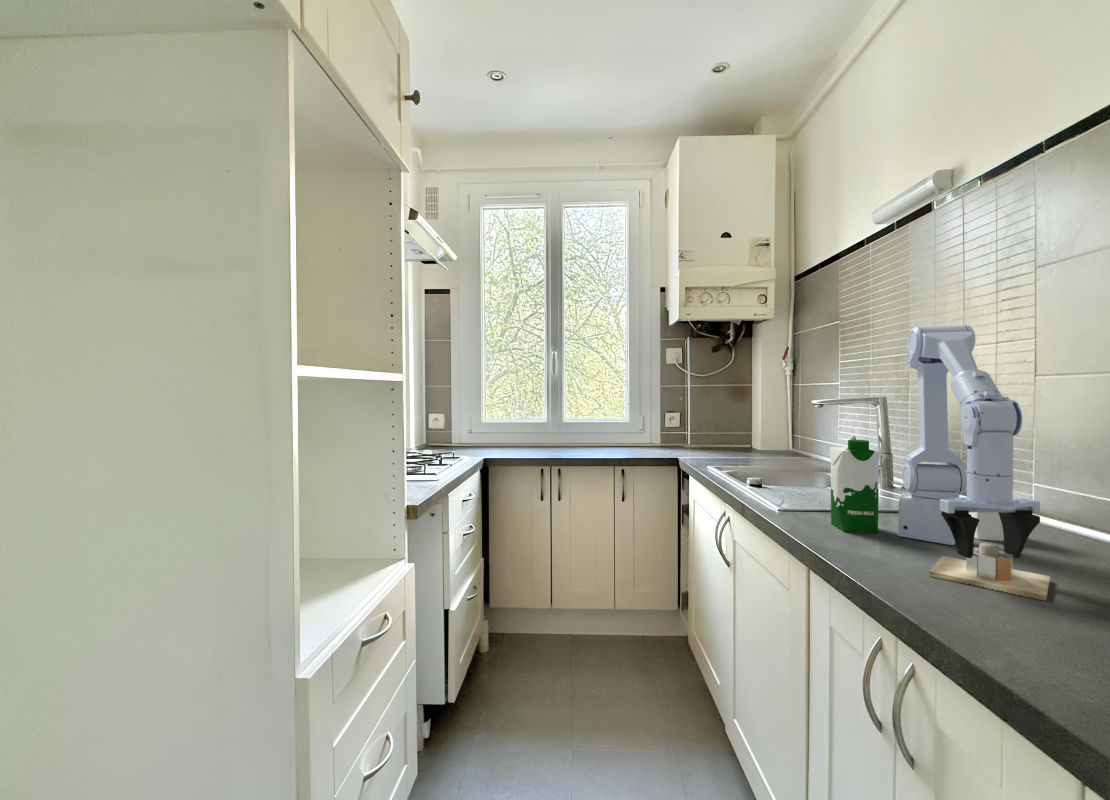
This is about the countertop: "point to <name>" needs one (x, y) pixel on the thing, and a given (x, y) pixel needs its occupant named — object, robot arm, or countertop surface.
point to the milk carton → (855, 487)
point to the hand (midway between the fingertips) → (988, 556)
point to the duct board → (1019, 584)
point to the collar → (990, 565)
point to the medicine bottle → (988, 526)
